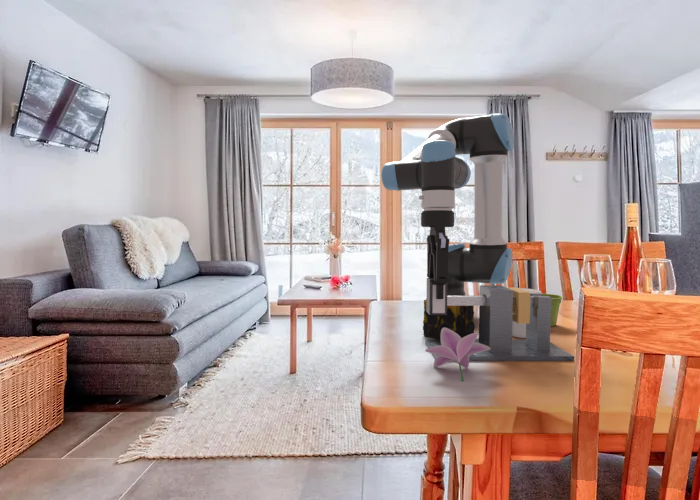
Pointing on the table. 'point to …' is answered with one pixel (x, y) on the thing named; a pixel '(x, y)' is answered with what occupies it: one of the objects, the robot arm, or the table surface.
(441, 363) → the lily
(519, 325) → the candle holder
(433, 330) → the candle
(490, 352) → the shaft stand
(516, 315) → the tan rectangular block
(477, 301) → the shaft
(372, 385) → the table surface
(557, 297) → the plant pot
